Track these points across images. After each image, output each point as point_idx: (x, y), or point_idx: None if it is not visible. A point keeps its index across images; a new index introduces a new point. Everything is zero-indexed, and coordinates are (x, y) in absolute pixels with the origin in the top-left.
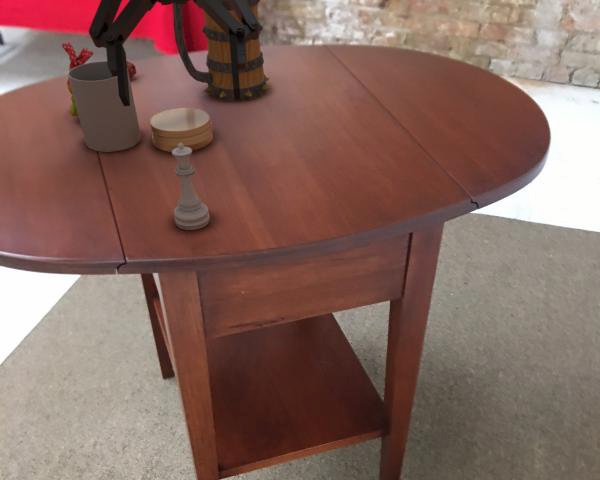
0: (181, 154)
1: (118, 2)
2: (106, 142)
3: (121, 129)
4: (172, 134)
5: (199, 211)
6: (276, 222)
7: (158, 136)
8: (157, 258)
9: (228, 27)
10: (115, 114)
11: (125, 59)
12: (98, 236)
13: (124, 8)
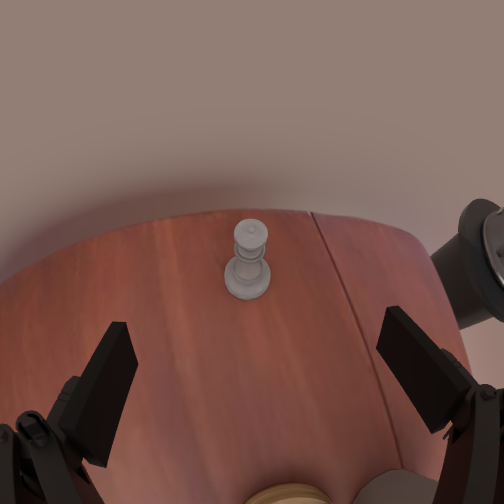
0: (250, 220)
1: None
2: (396, 473)
3: (381, 491)
4: (300, 495)
5: (234, 259)
6: (144, 269)
7: (323, 495)
8: (278, 210)
9: (72, 470)
10: (396, 495)
11: (426, 409)
12: (352, 255)
13: (494, 477)
